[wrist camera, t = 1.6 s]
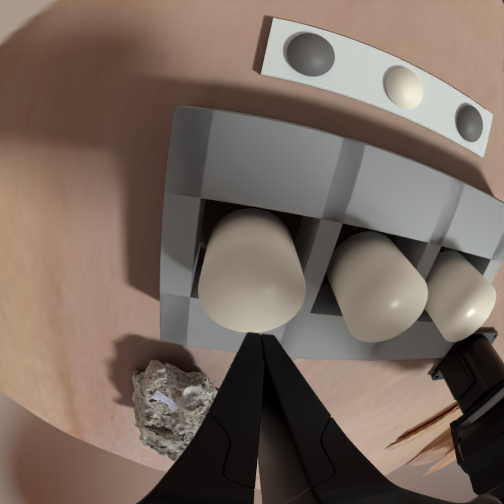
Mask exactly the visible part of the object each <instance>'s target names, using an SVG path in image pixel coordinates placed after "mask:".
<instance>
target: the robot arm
mask: <svg viewBox="0 0 504 504" xmlns="http://www.w3.org/2000/svg"><path fill="white" fill-rule="evenodd" d="M497 336H498V332H497V331H496V330H491V331H475V332H474V333H473V334H471V335H470V336H468V337H466V338H465V339H462V340H460V341H457V343H456V344H455V345H454V347H453V348H452V350H451V351H450V352H449V354H448V355H447V356H446V358H445V359H444V360H443V361H442V363H441V364H440V365H439V367H438V368H437V369H436V370H435V372H434V373H433V374H432V375H431V378H432V380H439V379H444V380H445V382H446V384H447V386H448V388H449V390H450V392H451V394H452V396H453V398H454V399H455V400H456V401H457V403H458V405H459V407H460V409H461V411H462V413H463V415H462V416H461V417H459V418H458V419H457V420H454V421H453V422H451V423H450V427H451V435H452V439H453V443H454V448H455V453H456V458H457V464H458V465H459V466H461V468H462V469H463V470H464V472H465V473H467V474H468V475H469V477H470V480H471V483H472V488H473V491H474V492H475V493H476V494H477V495H479V496H478V497H476V498H474V499H472V500H471V501H469V502H467V503H454V502H448V501H445V500H440V499H437V498H433V497H429V496H426V495H423V494H419V493H416V492H413V491H410V490H407V489H403V488H401V487H399V486H397V485H395V484H394V483H392V482H391V481H389V480H388V479H387V478H386V477H385V476H384V475H383V474H382V473H381V472H380V471H379V470H378V469H377V468H376V467H375V466H374V465H373V464H372V463H371V462H370V461H369V460H368V459H367V458H366V457H365V456H364V455H363V454H362V453H361V452H360V451H359V450H358V449H357V448H356V446H355V445H354V444H353V443H352V442H351V441H350V440H349V439H348V437H347V436H346V435H345V433H344V432H343V431H342V430H341V428H340V427H339V426H338V424H337V423H336V422H335V420H334V419H333V418H332V417H331V415H330V413H329V412H328V411H327V409H326V408H325V406H324V405H323V404H322V402H321V401H320V400H319V398H318V397H317V395H316V394H315V392H314V391H313V390H312V388H311V387H310V385H309V384H308V383H307V381H306V380H305V378H304V377H303V375H302V374H301V373H300V371H299V370H298V368H297V367H296V365H295V364H294V363H293V361H292V360H291V358H290V357H289V355H288V354H287V352H286V351H285V350H284V348H283V347H282V345H281V344H280V342H279V341H278V339H277V338H276V337H275V335H273V334H264V333H263V334H261V335H260V333H255V332H247V333H246V335H245V337H244V339H243V341H242V344H241V346H240V348H239V350H238V352H237V354H236V356H235V358H234V360H233V362H232V364H231V366H230V368H229V370H228V372H227V374H226V376H225V378H224V380H223V382H222V384H221V386H220V388H219V390H218V392H217V394H216V396H215V398H214V400H213V402H212V404H211V406H210V408H209V410H208V412H207V414H206V415H205V417H204V419H203V421H202V423H201V425H200V427H199V428H198V430H197V432H196V434H195V435H194V437H193V438H192V440H191V441H190V443H189V444H188V446H187V447H186V448H185V450H184V451H183V452H182V454H181V455H180V456H179V458H178V459H177V460H176V461H175V463H174V464H173V465H172V466H171V468H170V469H169V470H168V471H167V473H166V474H165V475H164V476H163V478H162V479H161V480H160V481H159V483H158V484H157V485H156V486H155V487H154V488H153V489H152V490H151V491H150V492H149V493H148V494H147V495H146V496H145V497H144V498H143V499H141V500H140V501H139V502H138V503H136V504H254V489H255V481H256V470H257V459H258V464H259V474H260V484H261V494H262V504H504V363H503V361H502V360H501V358H500V357H499V355H498V354H497V352H496V351H495V349H494V348H493V346H492V345H491V344H492V343H493V341H494V340H495V339H496V337H497ZM330 417H331V418H330Z"/></svg>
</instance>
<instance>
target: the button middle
mask: <svg viewBox="0 0 504 504" xmlns="http://www.w3.org/2000/svg"><path fill="white" fill-rule="evenodd" d="M327 275H328V279H329V282H330V285H331V287H332V290H333V292H334V294H335V297H336V299H337V302H338V304H339V307H340V309H341V312H342V314H343V317H344V320H345V322H346V325H347V327H348V330H349V332H350V333H351V334H352V335H353V336H354V337H355V338H357V339H358V340H361V341H365V342H381V341H385V340H388V339H391V338H393V337H395V336H397V335H399V334H401V333H402V332H404V331H405V330H407V329H408V328H409V327H410V326H411V325H412V324H413V323H414V322H415V321H416V320H417V319H418V318H419V316H420V315H421V313H422V312H423V310H424V308H425V305H426V302H427V298H428V288H427V284H426V282H425V280H424V279H423V278H422V276H421V275H420V274H419V273H418V271H417V270H416V269H415V268H414V267H413V265H412V264H411V263H410V262H409V261H408V259H407V258H406V257H405V256H404V255H403V254H402V252H401V251H400V250H399V249H398V248H397V247H396V246H395V244H394V243H393V242H392V241H391V240H390V239H389V238H388V237H387V236H385V235H383V234H381V233H378V232H373V231H367V232H361V233H357V234H355V235H352V236H351V237H349V238H347V239H346V240H344V241H343V242H342V243H341V244H340V245H339V246H338V247H337V248H336V249H335V251H334V252H333V254H332V256H331V259H330V262H329V264H328V268H327Z"/></svg>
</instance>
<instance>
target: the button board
mask: <svg viewBox="0 0 504 504" xmlns="http://www.w3.org/2000/svg"><path fill="white" fill-rule="evenodd" d="M206 199H210V200H217V201H223V202H229V203H236V204H242V205H248V206H254V207H259V208H265V209H271V210H276V211H282V212H287V213H293V214H298V215H302V218H301V221H300V225H299V228H298V232H297V236H296V239H295V243H294V246H295V249H296V253H297V256H298V259H299V262H300V265H301V269H302V272H303V275H304V278H305V283H306V295H305V299H304V302H303V304H302V306H301V308H300V309H299V311H298V312H297V313H296V315H295V316H294V317H293V318H292V319H290V320H289V321H288V322H286V323H285V324H283V325H281V326H280V327H277V328H275V329H272V330H269V331H265V332H259V333H260V335H261V334H263V333H264V334H273V335H275V337H276V338H277V339H278V341H279V342H280V344H281V345H282V347H283V348H284V350H285V351H286V352H287V354H288V355H289V357H290V358H304V359H325V360H409V359H428V358H443V357H444V356H445V355H446V354H447V352H448V351H449V350H450V348H451V347H452V345H453V344H454V343H455V342H449V341H447V340H445V339H444V337H443V336H442V334H441V332H440V331H439V329H438V328H437V326H436V325H435V323H434V322H433V320H432V319H431V317H430V316H429V314H428V313H427V311H426V310H425V308H424V310H423V312H422V313H421V315H420V316H419V318H418V319H417V320H416V321H415V322H414V323H413V324H412V325H411V326H410V327H409V328H408V329H407V330H405V331H404V332H402V333H401V334H399V335H397V336H395V337H393V338H391V339H388V340H385V341H381V342H365V341H361V340H358V339H357V338H355V337H354V336H353V335H352V334H351V333H350V332H349V330H348V327H347V325H346V322H345V320H344V317H343V314H342V312H341V309H340V307H339V304H338V302H337V299H336V297H335V294H334V292H333V290H332V287H331V285H330V284H328V283H322V281H323V278H324V275H325V273H326V270H327V267H328V264H329V262H330V259H331V256H332V253H333V250H334V247H335V245H336V242H337V239H338V236H339V233H340V230H341V227H342V224H343V223H344V224H348V225H353V226H358V227H363V228H367V229H372V230H376V231H381V232H385V233H390V234H394V235H396V237H395V240H394V242H393V243H394V244H395V246H396V247H397V248H398V249H399V250H400V251H401V252H402V254H403V255H404V256H405V257H406V258H407V259H408V261H409V262H410V263H411V264H412V265H413V267H414V268H415V269H416V270H417V271H418V273H419V274H420V275H421V276H422V278H423V279H424V280H426V278H427V276H428V274H429V272H430V270H431V268H432V265H433V263H434V261H435V259H436V257H437V255H438V253H439V250H440V248H441V246H443V247H447V248H451V249H455V250H459V253H460V254H461V255H462V256H463V257H464V258H465V259H466V260H467V261H468V262H469V263H470V264H471V265H472V266H474V267H475V268H476V269H477V270H478V271H479V272H480V273H481V274H482V276H483V277H484V278H485V279H486V280H487V281H488V282H489V283H490V284H491V283H492V281H493V279H494V277H495V276H496V274H497V272H498V270H499V268H500V266H501V264H502V262H503V259H504V202H502V201H501V200H499V199H497V198H496V197H494V196H492V195H490V194H488V193H486V192H484V191H482V190H480V189H478V188H476V187H474V186H472V185H470V184H468V183H466V182H464V181H462V180H460V179H458V178H456V177H454V176H451V175H449V174H447V173H445V172H442V171H440V170H438V169H435V168H433V167H431V166H428V165H426V164H423V163H421V162H418V161H416V160H413V159H411V158H408V157H406V156H403V155H400V154H397V153H395V152H392V151H389V150H386V149H383V148H381V147H378V146H375V145H372V144H369V143H365V142H362V141H359V140H356V139H353V138H349V137H346V136H342V135H339V134H335V133H332V132H328V131H325V130H321V129H317V128H313V127H309V126H305V125H301V124H296V123H292V122H288V121H283V120H278V119H274V118H269V117H263V116H258V115H253V114H247V113H241V112H235V111H229V110H222V109H214V108H207V107H198V106H175V107H174V114H173V120H172V127H171V135H170V143H169V151H168V160H167V169H166V179H165V190H164V203H163V217H162V234H161V258H160V340H161V341H163V342H169V343H174V344H180V345H186V346H192V347H199V348H206V349H213V350H220V351H228V352H236V353H237V352H238V350H239V348H240V346H241V344H242V341H243V339H244V337H245V335H246V333H243V332H237V331H233V330H230V329H227V328H225V327H223V326H221V325H219V324H218V323H216V322H215V321H214V320H212V319H211V318H210V317H209V316H208V315H207V314H206V312H205V311H204V309H203V307H202V305H201V303H200V300H199V296H198V285H199V280H200V275H201V271H202V266H203V265H198V261H199V252H200V243H201V235H202V227H203V219H204V211H205V204H206Z"/></svg>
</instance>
